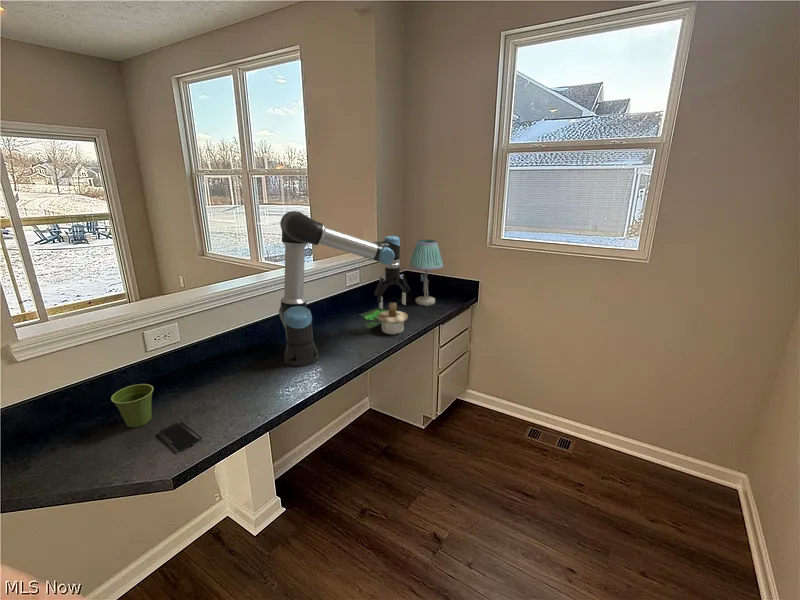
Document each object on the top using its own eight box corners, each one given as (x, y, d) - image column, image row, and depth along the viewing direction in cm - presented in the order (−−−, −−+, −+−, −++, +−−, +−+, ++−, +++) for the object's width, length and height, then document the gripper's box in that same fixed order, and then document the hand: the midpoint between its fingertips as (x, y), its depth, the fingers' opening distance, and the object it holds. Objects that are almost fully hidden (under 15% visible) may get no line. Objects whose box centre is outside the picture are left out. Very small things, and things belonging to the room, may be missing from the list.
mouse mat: (369, 330, 208) (369, 328, 208) (344, 319, 223) (344, 318, 223) (404, 317, 227) (404, 315, 227) (379, 308, 241) (379, 306, 241)
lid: (386, 325, 195) (385, 310, 193) (372, 315, 209) (372, 301, 206) (413, 320, 202) (413, 305, 200) (398, 310, 216) (398, 297, 213)
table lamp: (406, 297, 261) (407, 238, 248) (438, 296, 263) (440, 238, 250) (411, 308, 240) (412, 244, 227) (445, 307, 242) (448, 244, 230)
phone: (180, 421, 131) (202, 438, 122) (181, 423, 131) (203, 441, 123) (155, 432, 125) (177, 452, 116) (156, 435, 125) (177, 455, 117)
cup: (388, 335, 201) (388, 323, 198) (379, 328, 210) (378, 316, 208) (406, 331, 206) (406, 319, 203) (397, 324, 215) (397, 313, 213)
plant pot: (133, 436, 125) (125, 406, 121) (110, 427, 129) (102, 398, 125) (167, 416, 135) (161, 388, 131) (145, 408, 139) (138, 380, 136)
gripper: (373, 271, 188) (374, 312, 195) (417, 265, 199) (416, 304, 206) (367, 268, 194) (368, 307, 201) (410, 262, 205) (409, 300, 212)
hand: (392, 306), depth 203 cm, fingers open, 13 cm apart
